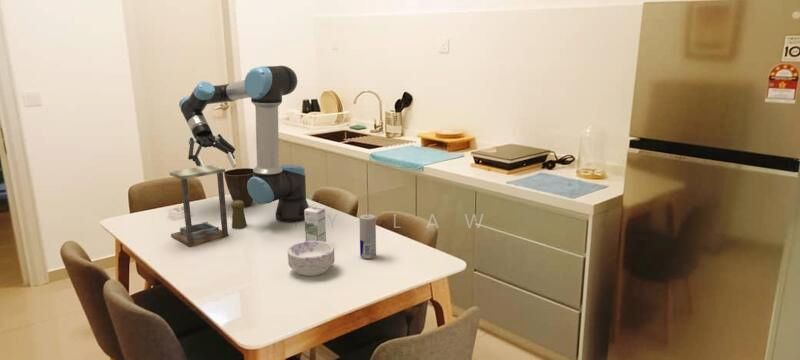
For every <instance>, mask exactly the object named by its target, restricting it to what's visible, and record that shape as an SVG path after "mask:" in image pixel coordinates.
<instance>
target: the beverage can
mask: <svg viewBox="0 0 800 360" xmlns="http://www.w3.org/2000/svg"><path fill="white" fill-rule="evenodd" d="M376 224H377V221H376V215H374V214H369V213H368V214H361V215H359V256H360V258H362V259H365V260H371V259H374V258H376V256H377V232H376V231H377V230H376V229H377V227H376V226H377V225H376Z"/></svg>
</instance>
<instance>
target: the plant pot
mask: <svg viewBox="0 0 800 360" xmlns="http://www.w3.org/2000/svg"><path fill="white" fill-rule="evenodd" d="M253 169H254V168H245V167H244V168H243V167H242V168H241V167H240V168H232V169H228V170H225V172H223V177H224V179H225V180H224V181H225V184H226V187H227V189H228V192H229V195H230V197H231V200H232V202H233V201H237V200H241V201H243V202H244V208H247V207H250V206H252V205H253V201H254V200H253V199H252V197H251V196H250V195H249V192H248V189H247V183H248V181H249V179H250V178H252V177H253Z"/></svg>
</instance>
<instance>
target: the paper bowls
mask: <svg viewBox="0 0 800 360" xmlns="http://www.w3.org/2000/svg"><path fill="white" fill-rule="evenodd" d="M335 259H336V258H335V247H334V245H333V244H331V243H329V242H327V241H326V242H323V241H306V240H305V241H300V242H296V243H295V244H292V245H291V246H290V247H289V248H288V250H287V265H288V266H289V267H290V268H291V269H292V270H295V271H296V273H297V274H299V275H301V276H306V277H313V276H319V275H322V274H324V273H326V271H328V269H329V268H330V267H331V266H332V265H334V263H335Z"/></svg>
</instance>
